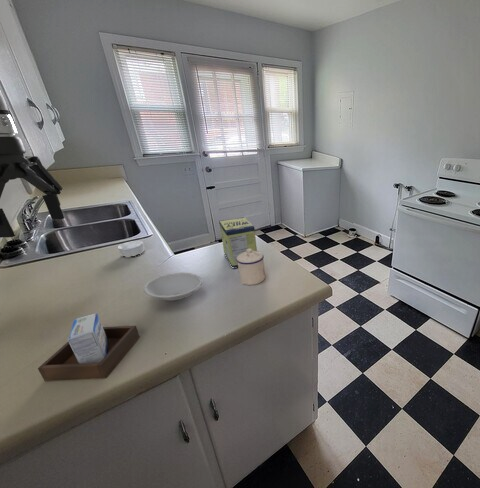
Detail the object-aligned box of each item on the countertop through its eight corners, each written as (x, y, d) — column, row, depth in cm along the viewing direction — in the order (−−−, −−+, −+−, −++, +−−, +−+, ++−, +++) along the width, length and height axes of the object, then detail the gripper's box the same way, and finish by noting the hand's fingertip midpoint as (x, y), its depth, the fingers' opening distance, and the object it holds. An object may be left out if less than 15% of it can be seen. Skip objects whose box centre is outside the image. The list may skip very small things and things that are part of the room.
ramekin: (126, 260, 110) (123, 250, 109) (116, 255, 115) (113, 245, 113) (149, 252, 117) (146, 243, 115) (139, 248, 122) (136, 239, 120)
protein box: (248, 249, 120) (244, 216, 114) (259, 263, 108) (255, 226, 102) (223, 254, 115) (218, 220, 109) (232, 269, 103) (226, 231, 97)
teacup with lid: (270, 279, 96) (268, 249, 92) (248, 288, 90) (244, 257, 86) (252, 268, 104) (249, 240, 99) (230, 276, 98) (226, 247, 93)
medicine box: (107, 361, 61) (94, 331, 58) (81, 370, 59) (66, 339, 55) (108, 340, 67) (97, 312, 64) (85, 348, 65) (72, 319, 61)
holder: (44, 381, 57) (37, 368, 56) (88, 338, 69) (83, 327, 67) (106, 377, 58) (100, 365, 56) (139, 336, 69) (136, 325, 68)
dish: (135, 306, 81) (130, 292, 79) (171, 282, 94) (167, 269, 92) (184, 315, 77) (180, 300, 75) (215, 289, 90) (212, 276, 88)
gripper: (-58, 136, 48) (-2, 246, 56) (60, 135, 71) (88, 212, 79) (-103, 137, 48) (-40, 247, 56) (30, 135, 71) (61, 213, 79)
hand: (35, 227), depth 68 cm, fingers open, 13 cm apart
